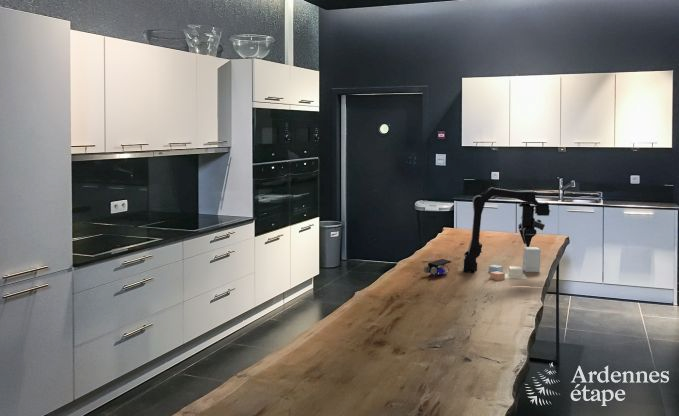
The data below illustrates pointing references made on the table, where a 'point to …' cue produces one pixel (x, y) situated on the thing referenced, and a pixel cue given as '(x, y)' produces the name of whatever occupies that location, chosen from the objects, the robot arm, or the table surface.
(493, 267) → the blue brick
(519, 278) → the baseplate
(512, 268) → the base brick
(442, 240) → the table surface
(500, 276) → the terracotta brick
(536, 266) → the supplement box
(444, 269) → the figurine character
